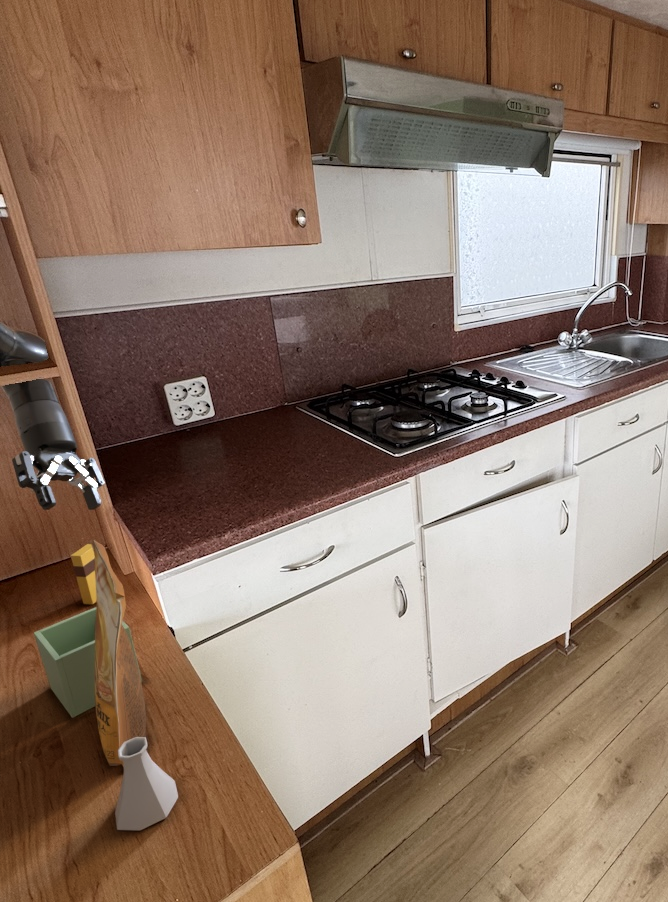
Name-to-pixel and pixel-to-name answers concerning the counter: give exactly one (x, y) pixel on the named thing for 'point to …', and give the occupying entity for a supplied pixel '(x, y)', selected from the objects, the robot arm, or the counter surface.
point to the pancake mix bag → (114, 665)
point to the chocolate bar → (85, 573)
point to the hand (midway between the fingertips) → (73, 507)
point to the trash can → (72, 660)
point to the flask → (142, 788)
